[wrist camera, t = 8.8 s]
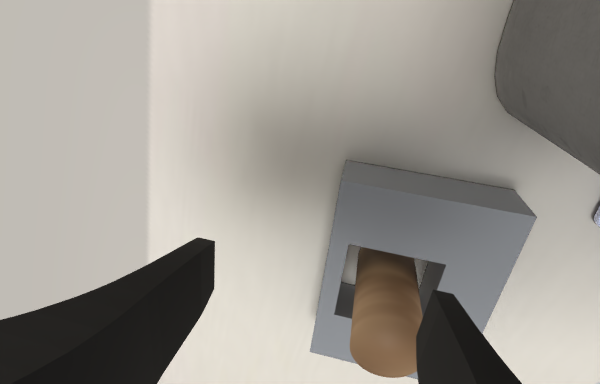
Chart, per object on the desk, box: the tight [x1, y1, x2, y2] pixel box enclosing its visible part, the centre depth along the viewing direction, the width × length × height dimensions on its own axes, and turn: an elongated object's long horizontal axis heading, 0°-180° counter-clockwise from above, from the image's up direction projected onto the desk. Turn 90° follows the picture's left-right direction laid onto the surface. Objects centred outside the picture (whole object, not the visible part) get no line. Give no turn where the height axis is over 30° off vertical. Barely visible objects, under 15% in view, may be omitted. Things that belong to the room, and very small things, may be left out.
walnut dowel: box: [350, 247, 423, 378], centre depth 19 cm, size 3×3×7 cm
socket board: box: [310, 160, 537, 379], centre depth 21 cm, size 9×12×3 cm
